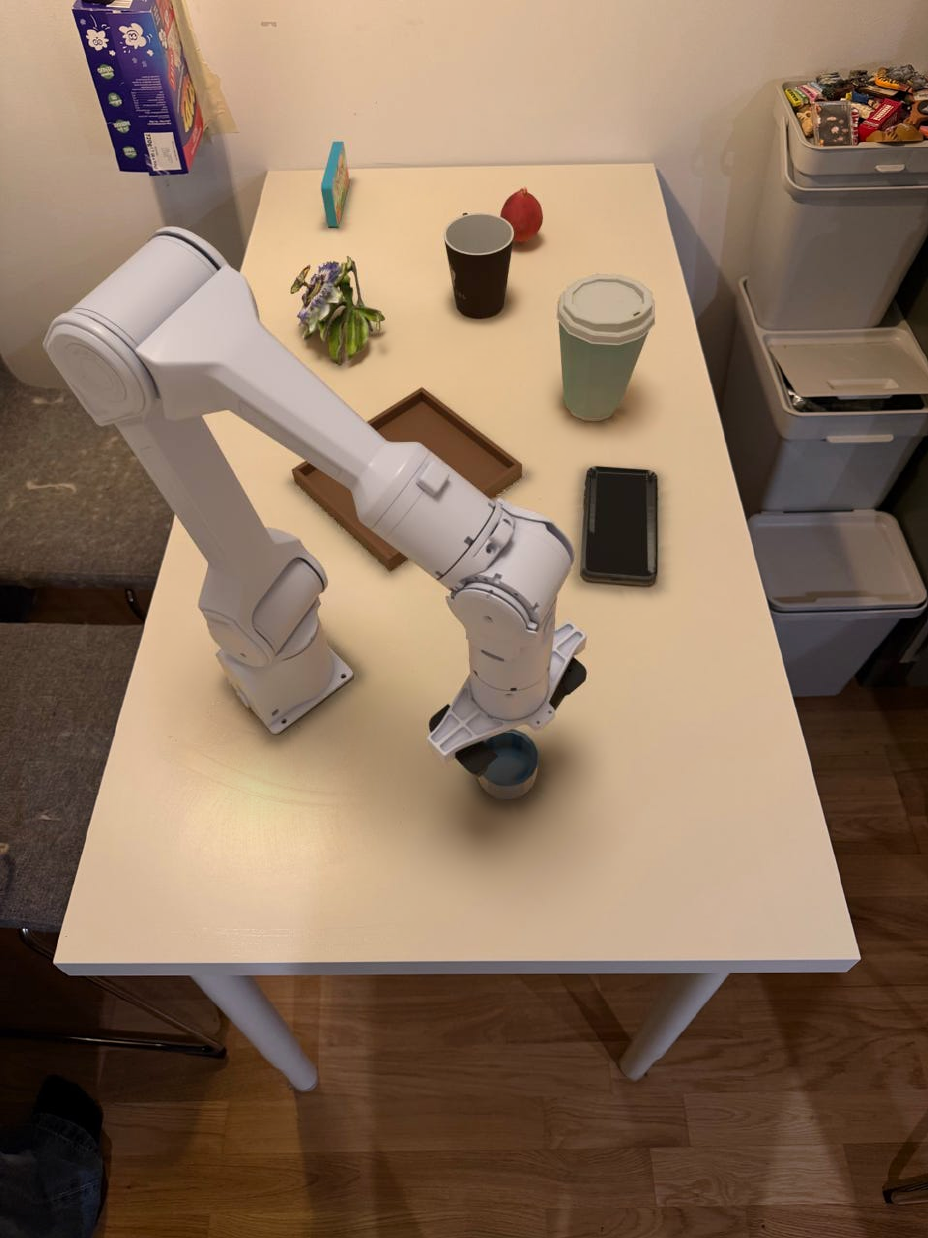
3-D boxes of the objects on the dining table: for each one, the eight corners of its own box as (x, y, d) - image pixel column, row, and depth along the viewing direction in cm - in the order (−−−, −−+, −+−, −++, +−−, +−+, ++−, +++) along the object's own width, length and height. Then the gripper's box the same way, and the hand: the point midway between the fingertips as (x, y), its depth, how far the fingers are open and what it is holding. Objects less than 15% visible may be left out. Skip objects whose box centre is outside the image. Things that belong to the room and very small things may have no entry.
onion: (495, 251, 117) (495, 195, 110) (506, 227, 120) (507, 172, 113) (535, 257, 116) (538, 202, 109) (545, 233, 119) (549, 177, 112)
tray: (390, 571, 88) (388, 559, 86) (294, 481, 95) (291, 469, 93) (522, 476, 94) (522, 464, 93) (423, 399, 102) (421, 386, 100)
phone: (657, 470, 93) (657, 580, 85) (656, 477, 94) (655, 586, 86) (586, 465, 93) (579, 574, 85) (585, 472, 94) (578, 580, 86)
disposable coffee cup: (530, 399, 101) (535, 291, 88) (595, 359, 104) (609, 250, 92) (591, 448, 96) (605, 341, 84) (657, 405, 100) (680, 296, 87)
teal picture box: (339, 181, 128) (333, 139, 122) (349, 181, 128) (343, 139, 122) (327, 227, 121) (320, 186, 116) (338, 228, 121) (331, 186, 116)
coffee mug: (506, 327, 108) (507, 257, 100) (441, 320, 109) (436, 251, 101) (521, 272, 114) (523, 202, 106) (459, 266, 115) (456, 196, 107)
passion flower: (321, 364, 114) (291, 271, 109) (398, 343, 112) (371, 248, 108) (306, 375, 103) (272, 273, 99) (390, 351, 102) (360, 247, 97)
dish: (505, 812, 74) (505, 799, 71) (464, 769, 76) (463, 755, 73) (549, 772, 75) (551, 758, 73) (507, 732, 78) (508, 717, 75)
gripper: (471, 761, 54) (475, 830, 65) (624, 629, 59) (603, 715, 70) (401, 689, 57) (417, 767, 68) (552, 570, 62) (544, 661, 73)
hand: (508, 737), depth 69 cm, fingers open, 7 cm apart
